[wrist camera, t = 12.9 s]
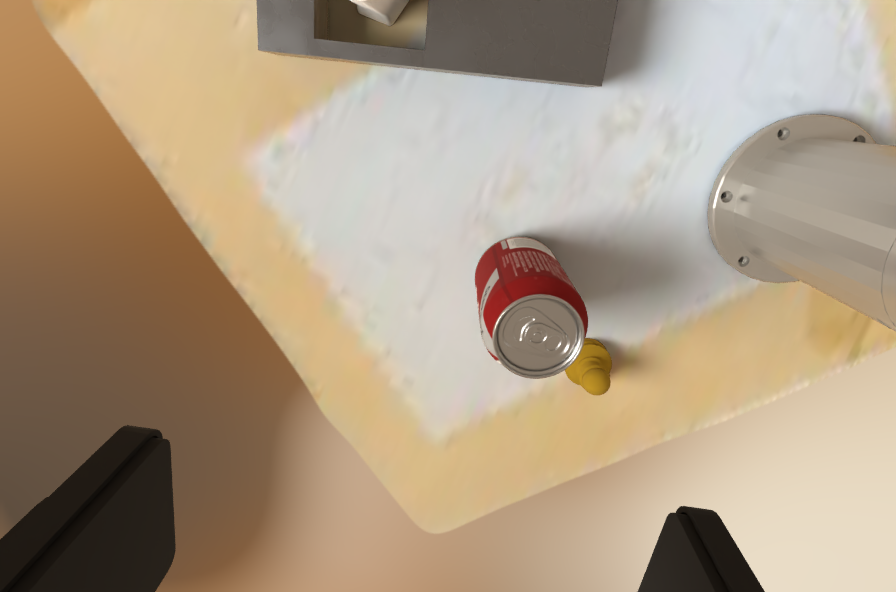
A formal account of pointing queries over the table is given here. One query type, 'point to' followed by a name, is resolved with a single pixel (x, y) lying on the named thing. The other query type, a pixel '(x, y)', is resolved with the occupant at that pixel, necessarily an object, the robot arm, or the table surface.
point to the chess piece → (591, 368)
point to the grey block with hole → (463, 38)
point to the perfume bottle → (381, 9)
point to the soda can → (528, 309)
